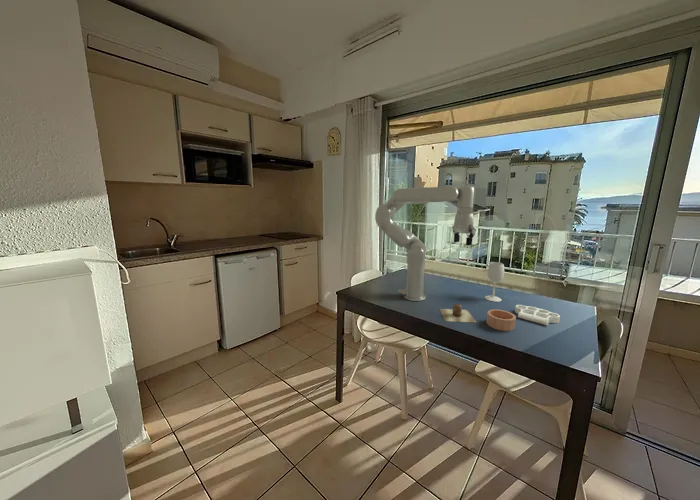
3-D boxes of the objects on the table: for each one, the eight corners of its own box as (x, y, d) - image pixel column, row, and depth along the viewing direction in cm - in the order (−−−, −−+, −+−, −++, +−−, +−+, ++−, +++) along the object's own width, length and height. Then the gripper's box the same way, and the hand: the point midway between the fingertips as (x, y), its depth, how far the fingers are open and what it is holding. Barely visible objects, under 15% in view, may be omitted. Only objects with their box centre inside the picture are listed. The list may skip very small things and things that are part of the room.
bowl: (492, 330, 116) (493, 319, 115) (483, 318, 127) (484, 309, 126) (519, 331, 115) (520, 320, 114) (507, 319, 126) (508, 310, 125)
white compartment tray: (509, 317, 130) (517, 308, 140) (555, 329, 117) (560, 319, 127) (510, 310, 129) (518, 302, 139) (556, 322, 116) (561, 312, 127)
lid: (445, 322, 125) (446, 311, 124) (439, 310, 139) (439, 299, 138) (476, 323, 123) (477, 312, 122) (467, 311, 137) (467, 300, 136)
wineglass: (495, 303, 145) (499, 266, 141) (481, 297, 153) (484, 262, 149) (505, 300, 149) (509, 264, 145) (490, 295, 157) (494, 260, 153)
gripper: (448, 210, 144) (446, 241, 148) (470, 212, 128) (467, 246, 131) (459, 210, 146) (457, 240, 149) (483, 211, 130) (480, 246, 133)
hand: (462, 243), depth 140 cm, fingers open, 9 cm apart
